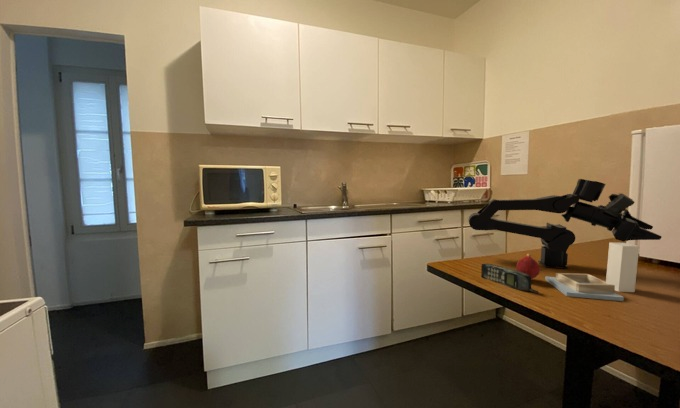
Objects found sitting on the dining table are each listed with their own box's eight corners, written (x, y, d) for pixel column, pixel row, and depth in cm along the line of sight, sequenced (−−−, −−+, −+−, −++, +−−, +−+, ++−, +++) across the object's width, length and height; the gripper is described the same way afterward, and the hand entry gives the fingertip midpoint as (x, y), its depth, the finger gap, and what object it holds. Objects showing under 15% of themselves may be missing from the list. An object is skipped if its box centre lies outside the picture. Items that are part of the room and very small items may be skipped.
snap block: (605, 285, 78) (609, 242, 77) (620, 286, 78) (624, 242, 77) (618, 291, 74) (622, 246, 73) (634, 292, 74) (639, 246, 73)
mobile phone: (479, 263, 85) (534, 276, 72) (485, 261, 87) (539, 274, 74) (479, 278, 85) (533, 295, 72) (485, 277, 87) (539, 292, 74)
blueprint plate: (566, 296, 72) (566, 292, 72) (545, 279, 83) (545, 276, 83) (623, 301, 69) (623, 297, 69) (593, 283, 80) (593, 280, 80)
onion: (542, 284, 79) (544, 257, 79) (520, 283, 81) (522, 256, 80) (533, 277, 85) (534, 252, 84) (512, 276, 86) (513, 251, 85)
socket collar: (555, 279, 80) (556, 273, 80) (587, 280, 80) (587, 273, 79) (578, 291, 72) (578, 284, 72) (614, 293, 71) (614, 285, 71)
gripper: (608, 198, 80) (684, 217, 72) (600, 185, 95) (663, 200, 87) (589, 231, 85) (659, 253, 77) (584, 214, 99) (643, 231, 91)
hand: (656, 232), depth 83 cm, fingers open, 9 cm apart
